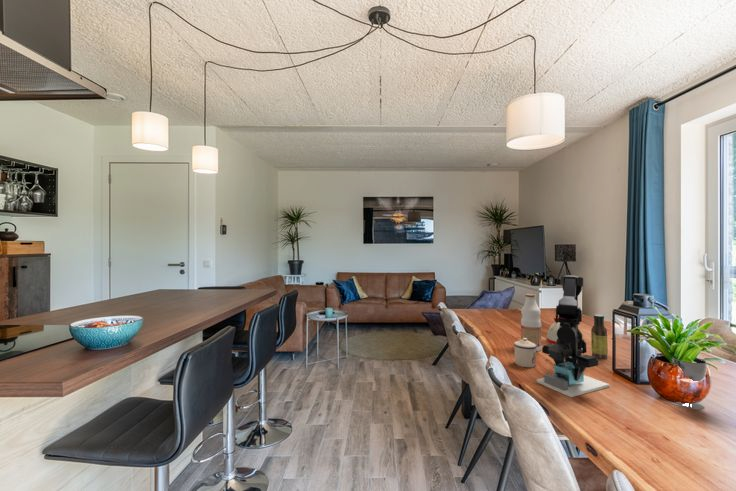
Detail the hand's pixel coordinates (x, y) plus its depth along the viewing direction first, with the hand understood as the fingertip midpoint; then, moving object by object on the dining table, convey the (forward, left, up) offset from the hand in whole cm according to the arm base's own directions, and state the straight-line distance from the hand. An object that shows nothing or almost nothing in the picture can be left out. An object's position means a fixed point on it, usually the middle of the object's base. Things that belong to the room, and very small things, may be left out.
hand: (568, 377), depth 124 cm
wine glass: (-22, +26, -3) cm, 34 cm away
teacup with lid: (-4, -24, -3) cm, 25 cm away
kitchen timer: (-49, -40, -3) cm, 64 cm away
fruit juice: (-24, -38, -3) cm, 45 cm away
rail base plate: (-2, 0, -3) cm, 4 cm away
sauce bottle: (-43, -16, -3) cm, 46 cm away
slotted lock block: (0, 0, -1) cm, 1 cm away
